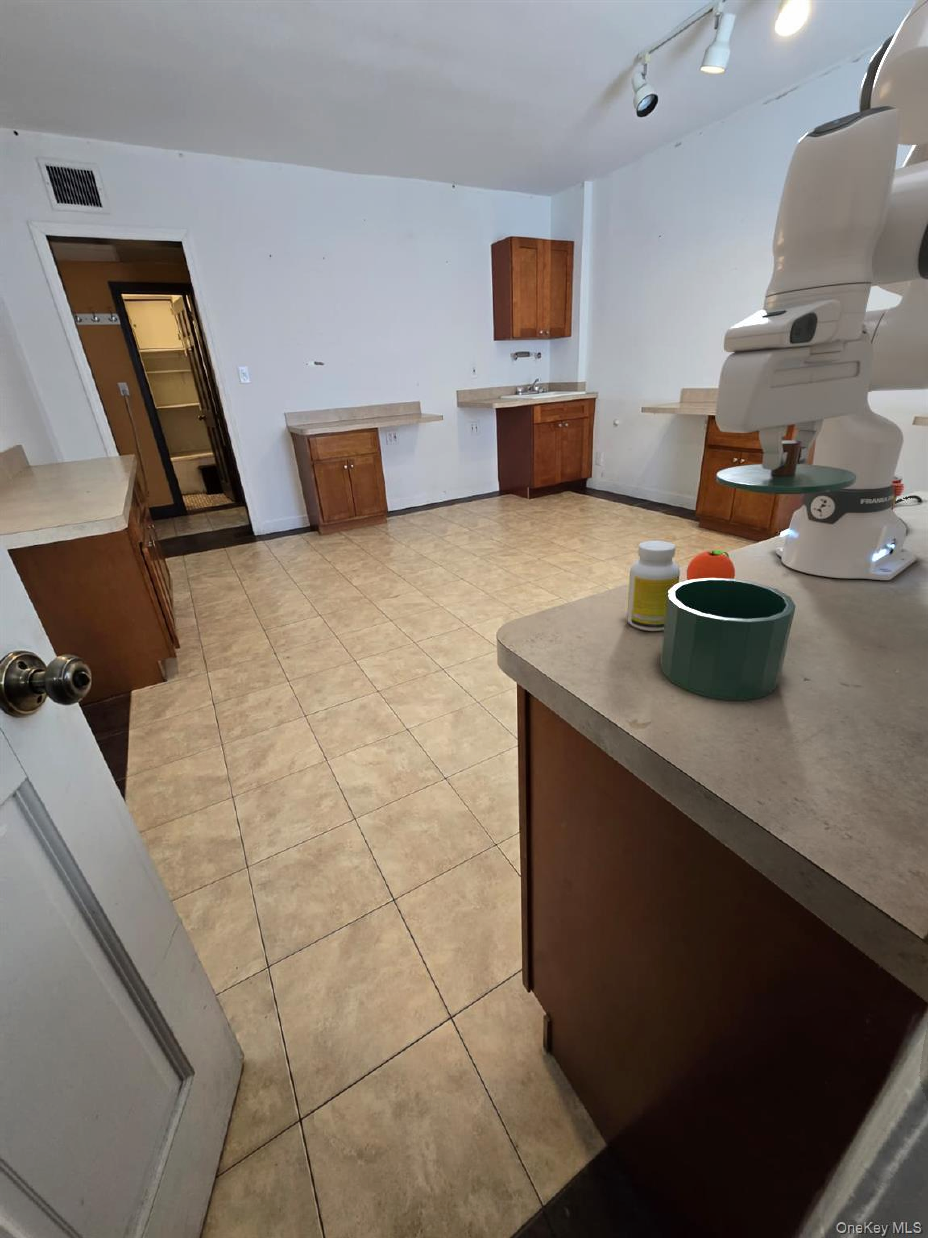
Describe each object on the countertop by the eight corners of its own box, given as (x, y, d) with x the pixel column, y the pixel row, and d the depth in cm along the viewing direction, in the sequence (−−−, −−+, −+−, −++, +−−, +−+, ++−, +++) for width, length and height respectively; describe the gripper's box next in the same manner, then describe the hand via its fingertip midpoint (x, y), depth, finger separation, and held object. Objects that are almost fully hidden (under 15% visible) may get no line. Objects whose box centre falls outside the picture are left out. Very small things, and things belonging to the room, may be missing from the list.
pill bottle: (677, 633, 70) (687, 552, 66) (628, 632, 72) (634, 552, 67) (670, 614, 76) (678, 538, 71) (624, 613, 77) (630, 538, 73)
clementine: (705, 581, 87) (711, 540, 84) (744, 592, 82) (752, 549, 79) (674, 593, 83) (679, 550, 80) (713, 605, 78) (720, 561, 75)
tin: (709, 637, 69) (719, 571, 65) (802, 679, 58) (821, 602, 54) (638, 663, 64) (644, 592, 60) (725, 713, 54) (740, 632, 50)
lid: (765, 469, 67) (771, 431, 65) (882, 483, 55) (894, 437, 53) (689, 486, 62) (693, 445, 59) (801, 505, 50) (811, 455, 48)
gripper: (840, 324, 58) (814, 451, 64) (712, 333, 50) (696, 476, 56) (904, 317, 53) (869, 455, 59) (772, 325, 45) (748, 483, 51)
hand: (783, 466), depth 58 cm, fingers closed on lid, 2 cm apart
